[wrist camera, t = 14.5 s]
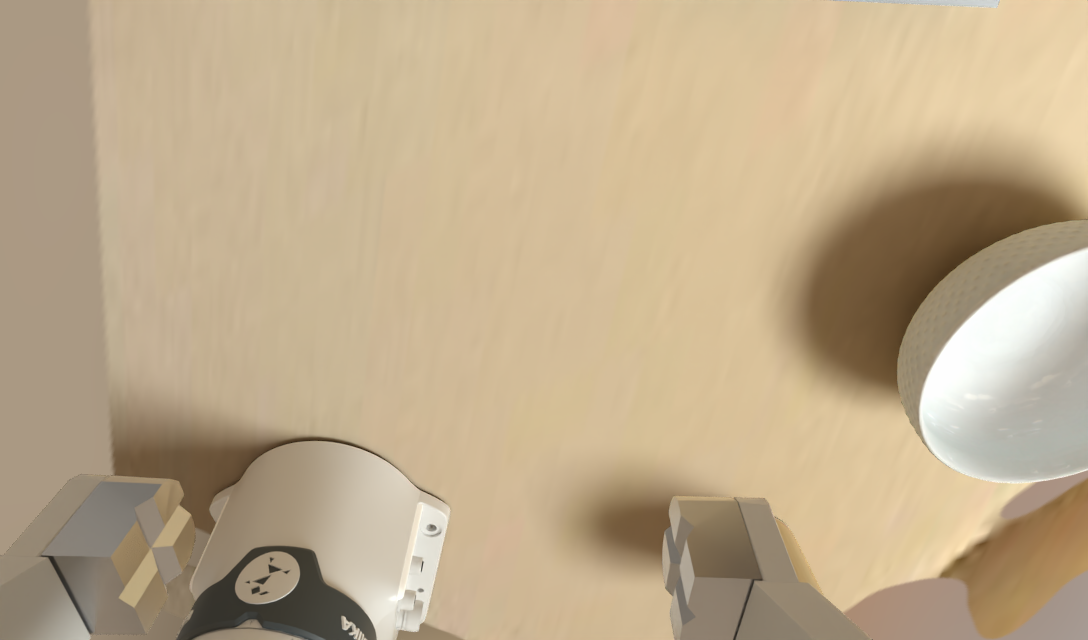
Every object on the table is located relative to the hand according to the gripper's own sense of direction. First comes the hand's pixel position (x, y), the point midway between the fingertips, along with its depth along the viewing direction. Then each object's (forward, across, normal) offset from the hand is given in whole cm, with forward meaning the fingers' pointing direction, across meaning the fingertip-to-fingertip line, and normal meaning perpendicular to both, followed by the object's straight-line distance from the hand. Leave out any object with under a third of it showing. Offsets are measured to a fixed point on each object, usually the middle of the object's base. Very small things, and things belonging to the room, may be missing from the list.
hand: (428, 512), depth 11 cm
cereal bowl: (+29, +32, -12) cm, 45 cm away
